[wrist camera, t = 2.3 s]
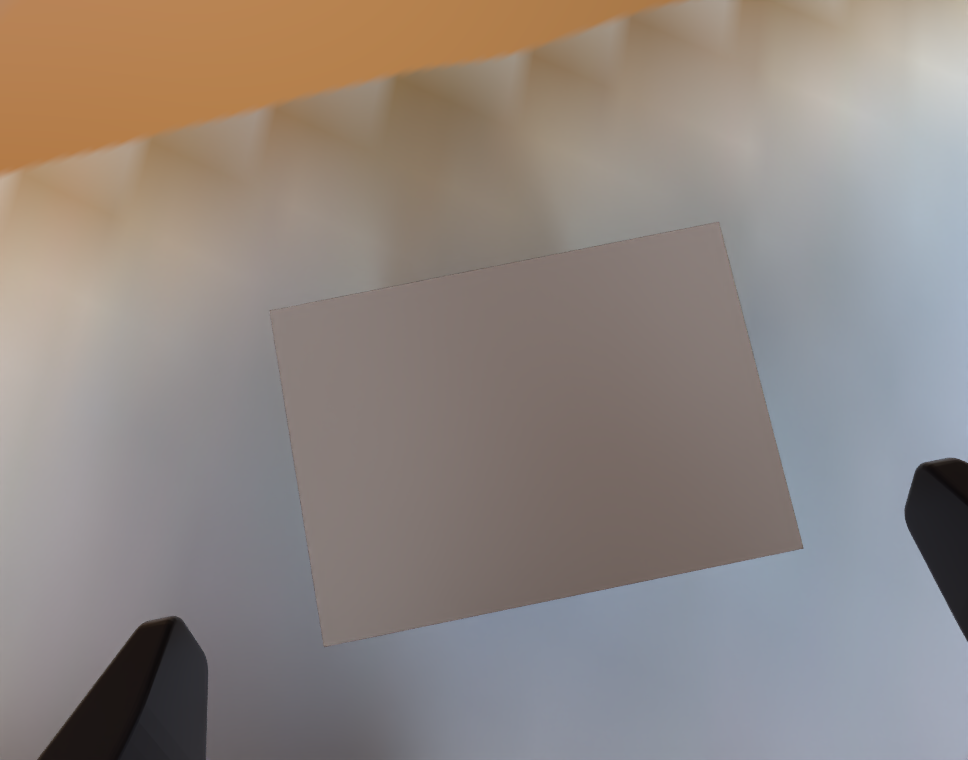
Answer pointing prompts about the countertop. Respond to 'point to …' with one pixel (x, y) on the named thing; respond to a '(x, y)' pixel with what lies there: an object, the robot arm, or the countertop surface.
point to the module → (528, 433)
